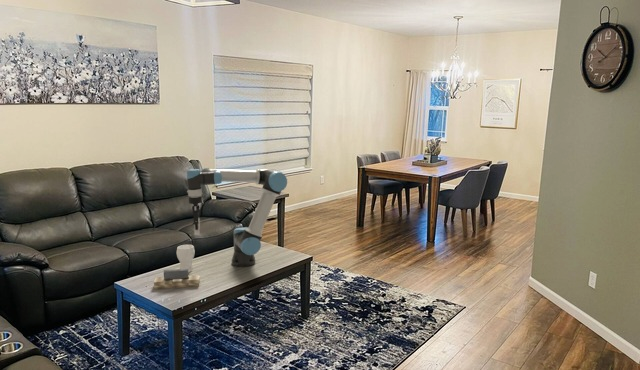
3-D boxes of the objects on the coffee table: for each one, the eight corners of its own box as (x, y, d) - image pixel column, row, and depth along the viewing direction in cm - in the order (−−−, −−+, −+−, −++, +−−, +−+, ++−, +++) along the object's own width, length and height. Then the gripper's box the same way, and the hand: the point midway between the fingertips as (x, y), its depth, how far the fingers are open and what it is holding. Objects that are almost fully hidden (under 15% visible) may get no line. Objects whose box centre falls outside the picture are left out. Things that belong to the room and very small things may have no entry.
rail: (199, 281, 266) (199, 275, 265) (199, 286, 259) (198, 279, 258) (156, 284, 261) (155, 277, 260) (154, 289, 254) (153, 282, 254)
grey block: (188, 282, 262) (188, 268, 261) (188, 283, 260) (187, 270, 258) (164, 283, 260) (164, 270, 258) (164, 285, 257) (163, 271, 256)
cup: (190, 274, 278) (189, 250, 275) (174, 272, 280) (173, 248, 277) (198, 268, 288) (197, 244, 285) (182, 266, 290) (181, 243, 287)
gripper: (189, 192, 277) (191, 226, 281) (187, 201, 253) (189, 238, 257) (202, 191, 278) (204, 225, 282) (201, 200, 254) (203, 237, 258)
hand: (197, 231), depth 269 cm, fingers open, 13 cm apart
